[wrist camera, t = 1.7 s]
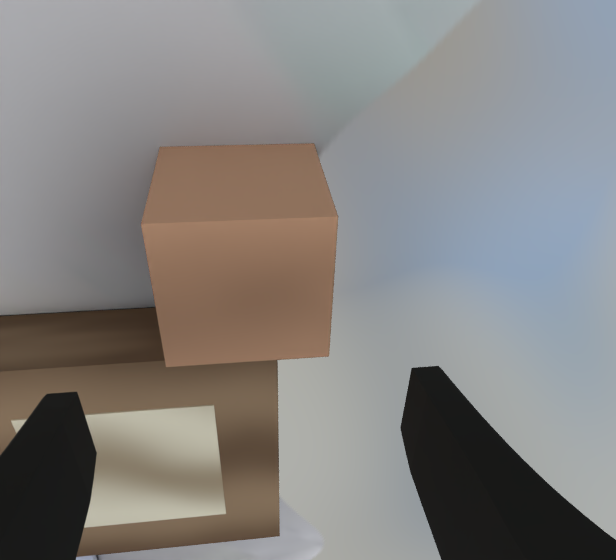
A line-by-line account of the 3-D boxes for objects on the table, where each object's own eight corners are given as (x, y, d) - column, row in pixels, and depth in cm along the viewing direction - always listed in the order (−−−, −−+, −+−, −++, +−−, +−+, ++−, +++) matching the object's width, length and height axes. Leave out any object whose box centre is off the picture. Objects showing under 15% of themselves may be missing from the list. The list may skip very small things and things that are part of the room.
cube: (309, 266, 21) (328, 356, 17) (177, 272, 21) (166, 367, 17) (313, 142, 18) (337, 216, 14) (160, 145, 18) (141, 224, 14)
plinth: (275, 481, 29) (279, 536, 26) (35, 503, 28) (16, 564, 25) (271, 300, 22) (277, 353, 19) (-51, 318, 21) (-88, 378, 18)
